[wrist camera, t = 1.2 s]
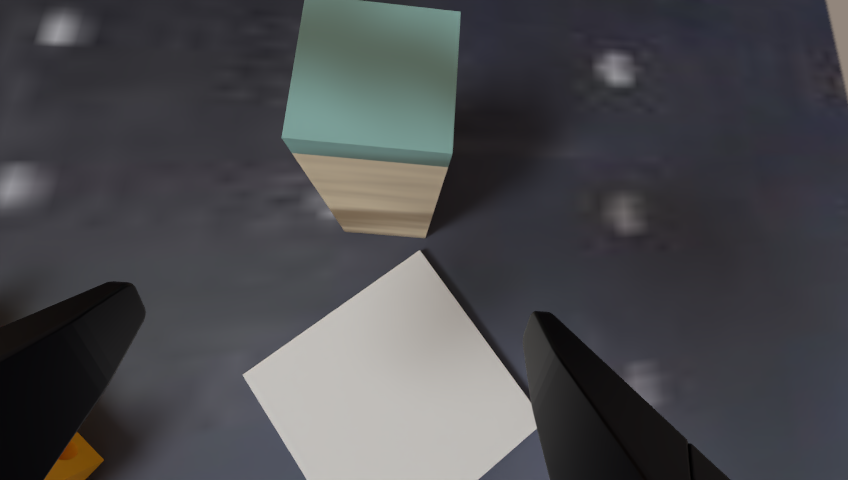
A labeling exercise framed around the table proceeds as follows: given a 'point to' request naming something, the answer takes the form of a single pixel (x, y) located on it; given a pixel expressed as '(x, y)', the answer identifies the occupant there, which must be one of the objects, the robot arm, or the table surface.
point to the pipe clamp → (75, 461)
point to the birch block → (374, 110)
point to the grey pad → (393, 387)
